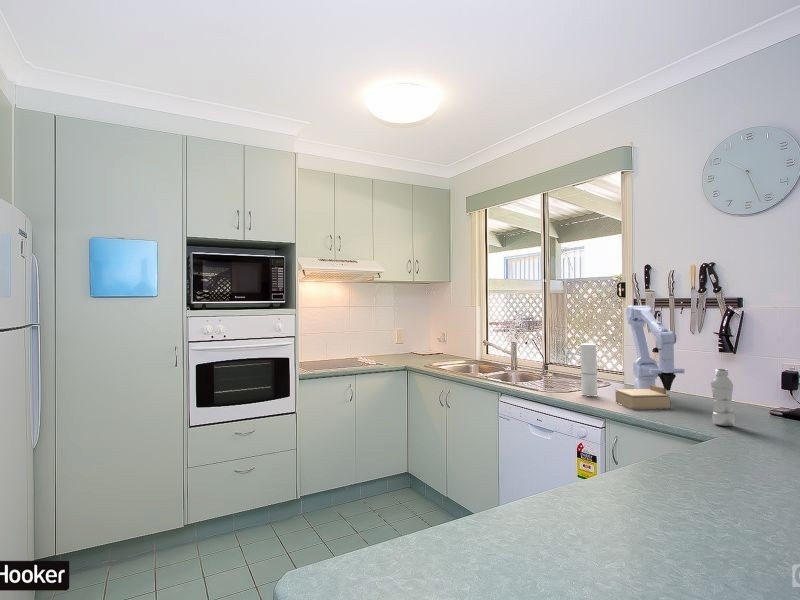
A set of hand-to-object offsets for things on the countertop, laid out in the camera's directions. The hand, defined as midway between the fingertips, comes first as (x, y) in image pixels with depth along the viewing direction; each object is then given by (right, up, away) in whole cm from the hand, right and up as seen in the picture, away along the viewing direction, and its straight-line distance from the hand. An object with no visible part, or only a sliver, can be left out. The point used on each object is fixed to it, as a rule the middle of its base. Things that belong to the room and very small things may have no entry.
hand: (667, 390), depth 198 cm
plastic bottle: (-1, -6, -35) cm, 36 cm away
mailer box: (-11, -7, 0) cm, 13 cm away
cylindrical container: (-24, -8, +24) cm, 35 cm away
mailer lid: (-11, -1, 0) cm, 11 cm away
